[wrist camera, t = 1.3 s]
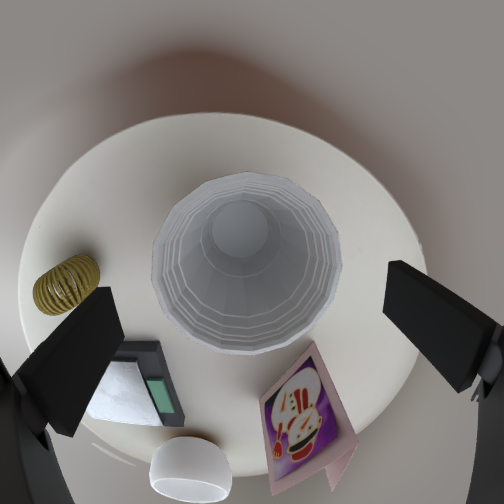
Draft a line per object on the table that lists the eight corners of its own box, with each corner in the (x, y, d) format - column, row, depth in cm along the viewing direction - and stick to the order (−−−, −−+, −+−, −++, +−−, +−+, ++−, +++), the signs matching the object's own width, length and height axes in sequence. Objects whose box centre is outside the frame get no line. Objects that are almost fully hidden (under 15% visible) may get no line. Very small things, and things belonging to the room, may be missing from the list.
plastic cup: (314, 255, 27) (366, 313, 16) (216, 298, 28) (209, 378, 16) (272, 153, 24) (306, 138, 13) (166, 202, 25) (115, 229, 13)
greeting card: (308, 338, 30) (352, 442, 16) (350, 358, 32) (400, 447, 17) (253, 397, 32) (264, 496, 18) (296, 412, 34) (319, 499, 20)
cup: (228, 463, 38) (229, 506, 28) (160, 455, 36) (153, 497, 27) (234, 428, 34) (236, 481, 25) (152, 418, 33) (140, 469, 24)
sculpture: (69, 296, 27) (34, 330, 19) (53, 266, 25) (13, 294, 18) (117, 274, 26) (84, 309, 19) (101, 240, 25) (60, 266, 17)
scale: (60, 338, 28) (51, 349, 26) (159, 341, 29) (154, 355, 26) (96, 409, 32) (91, 421, 30) (184, 416, 33) (182, 431, 30)
